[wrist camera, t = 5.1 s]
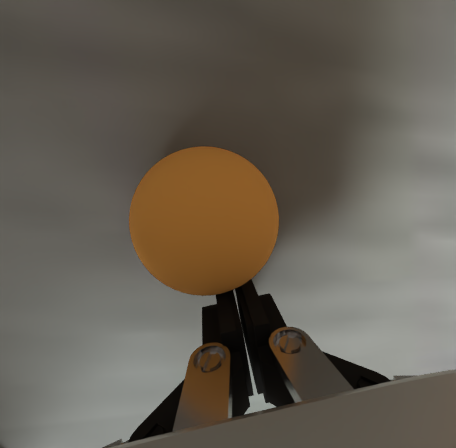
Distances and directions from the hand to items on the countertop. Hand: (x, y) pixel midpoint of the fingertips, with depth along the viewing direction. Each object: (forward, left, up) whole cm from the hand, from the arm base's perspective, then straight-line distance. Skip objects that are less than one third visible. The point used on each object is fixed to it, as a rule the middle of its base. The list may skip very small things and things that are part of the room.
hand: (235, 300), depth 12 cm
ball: (+4, +2, +1) cm, 5 cm away
